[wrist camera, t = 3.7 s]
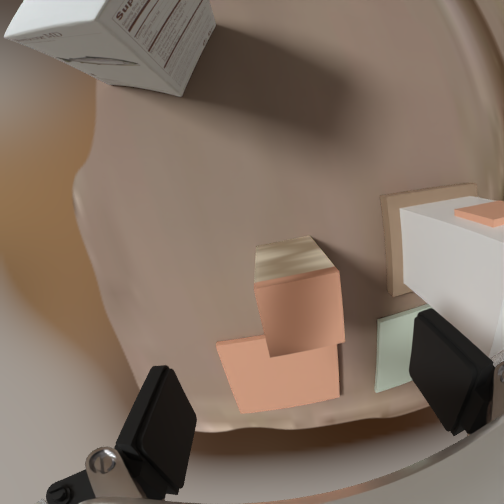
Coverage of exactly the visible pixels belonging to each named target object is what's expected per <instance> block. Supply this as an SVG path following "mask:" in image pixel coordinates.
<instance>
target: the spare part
mask: <svg viewBox="0 0 504 504" xmlns="http://www.w3.org/2000/svg"><path fill="white" fill-rule="evenodd" d="M254 292H255V296H256V300H257V305H258V309H259V313H260V317H261V322H262V326H263V330H264V334H265V339H266V343H267V347H268V351H269V356H270V358H271V357H277V356H282V355H288V354H293V353H298V352H303V351H308V350H313V349H317V348H322V347H326V346H331V345H335V344H339V343H343V342H345V332H344V318H343V305H342V294H341V284H340V274H339V271H338V270H337V268H336V267H335V266H334V265H333V263H332V262H331V261H330V260H329V258H328V257H327V256H326V255H325V254H324V252H323V251H322V250H321V249H320V247H319V246H318V245H317V244H316V243H315V241H314V240H313V239H312V238H311V237H310V236H305V237H300V238H295V239H290V240H285V241H280V242H275V243H270V244H265V245H260V246H256V259H255V278H254Z"/></svg>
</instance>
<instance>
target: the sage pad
mask: <svg viewBox="0 0 504 504" xmlns="http://www.w3.org/2000/svg"><path fill="white" fill-rule="evenodd" d="M429 308H432V307H431V306H430V305H429V304H426V305H423V306H420V307H417V308H413V309H410V310H407V311H404V312H401V313H397V314H394V315H391V316H387V317H384V318H380V319H377V359H376V377H375V391H376V393H378V392H381V391H384V390H387V389H390V388H393V387H396V386H399V385H402V384H404V383H407V382H410V381H412V378H411V377H410V374H409V364H410V357H411V349H412V340H413V329H414V319H415V317H417V315H418V313H419V312H421V311H424V310H426V309H429ZM432 309H433V308H432ZM434 310H435V309H434ZM435 311H436V310H435ZM436 312H437V311H436Z"/></svg>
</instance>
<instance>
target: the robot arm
mask: <svg viewBox="0 0 504 504" xmlns="http://www.w3.org/2000/svg"><path fill="white" fill-rule="evenodd" d="M409 374H410V377H411V378H412V380H413V381H414V383H415V384H416V386H417V387H418V388H419V390H420V391H421V393H422V394H423V396H424V397H425V399H426V400H427V402H428V403H429V405H430V406H431V408H432V409H433V411H434V412H435V414H436V415H437V417H438V418H439V420H440V422H441V423H442V425H443V426H444V428H445V429H446V430H447V431H451V433H452V434H453V436H455V435H457V434H458V433H460V432H462V431H463V430H466V432H467V437H465V438H464V439H462V440H460V441H458V442H457V443H455V444H453V445H451V446H449V447H448V448H446V449H444V450H442V451H440V452H438V453H436V454H434V455H432V456H430V457H428V458H426V459H424V460H422V461H419V462H417V463H415V464H413V465H410V466H408V467H406V468H403V469H401V470H398V471H396V472H393V473H391V474H388V475H385V476H382V477H379V478H377V479H374V480H371V481H368V482H365V483H361V484H358V485H355V486H351V487H347V488H343V489H340V490H336V491H332V492H327V493H322V494H317V495H313V496H307V497H301V498H296V499H289V500H280V501H272V502H261V503H245V504H504V361H503V362H501V363H500V364H498V365H497V366H496V368H495V367H494V366H493V361H492V360H491V359H490V358H489V357H487V356H486V355H485V354H484V353H483V352H482V351H481V350H480V349H479V348H478V347H477V346H476V345H474V344H473V343H472V342H471V341H470V340H469V339H468V338H467V337H466V336H464V335H463V334H462V333H461V332H460V331H459V330H458V329H456V328H455V327H454V326H453V325H452V324H451V323H449V322H448V321H447V320H446V319H445V318H444V317H442V316H441V315H440V314H439V313H438V312H436V311H435V310H434V309H432V308H429V309H426V310H424V311H421V312H419V313H418V315H417V317H415V319H414V329H413V340H412V349H411V357H410V364H409ZM196 422H197V418H196V414H195V412H194V410H193V408H192V406H191V405H190V403H189V401H188V399H187V397H186V395H185V393H184V391H183V389H182V387H181V385H180V383H179V380H178V378H177V376H176V374H175V372H174V370H173V369H169V367H168V366H166V365H164V366H153V367H152V368H151V370H150V372H149V374H148V376H147V378H146V380H145V382H144V384H143V386H142V388H141V390H140V392H139V394H138V396H137V398H136V401H135V402H134V405H133V407H132V409H131V411H130V413H129V415H128V417H127V419H126V422H125V424H124V426H123V428H122V430H121V432H120V435H119V437H118V439H117V441H116V445H115V448H111V447H100V448H97V449H95V450H94V451H92V452H91V453H90V454H89V455H88V457H87V458H86V462H85V467H86V469H85V470H83V471H81V472H79V473H77V474H74V475H72V476H70V477H67V478H65V479H63V480H60V481H58V482H55V483H54V484H52V485H51V486H50V487H49V489H48V490H47V494H46V499H47V500H46V501H45V500H44V499H41V500H40V501H39V502H37V503H36V504H199V503H182V502H170V501H165V495H166V494H175V495H178V492H179V488H182V487H183V485H184V481H185V476H186V470H187V466H188V460H189V456H190V451H191V446H192V441H193V437H194V432H195V427H196Z"/></svg>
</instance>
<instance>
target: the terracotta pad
mask: <svg viewBox="0 0 504 504" xmlns="http://www.w3.org/2000/svg"><path fill="white" fill-rule="evenodd" d="M216 348H217V351H218V353H219V356H220V359H221V362H222V365H223V368H224V370H225V373H226V376H227V379H228V381H229V384H230V387H231V389H232V392H233V395H234V397H235V400H236V402H237V405H238V407H239V410H240V413H241V414H243V413H253V412H261V411H269V410H276V409H283V408H289V407H295V406H300V405H306V404H311V403H316V402H320V401H325V400H329V399H334V398H338V397H340V396H339V370H338V353H337V344H335V345H331V346H326V347H322V348H317V349H313V350H308V351H303V352H298V353H293V354H288V355H282V356H277V357H271V358H270V356H269V351H268V347H267V343H266V339H265V335H259V336H253V337H247V338H241V339H234V340H227V341H220V342H217V343H216Z"/></svg>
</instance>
